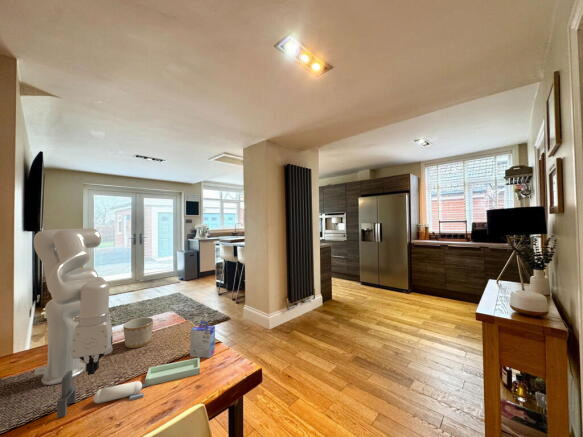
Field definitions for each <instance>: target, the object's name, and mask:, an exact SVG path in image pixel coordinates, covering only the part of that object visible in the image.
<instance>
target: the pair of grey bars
mask: <svg viewBox="0 0 583 437" xmlns="http://www.w3.org/2000/svg"><path fill="white" fill-rule="evenodd" d="M146 387H148V386H147V384H145V382H144V383H142V388H146ZM144 396H145V392H142V393H137V394H135V395H131V396H129V401H133V400H137V399H142V398H144Z"/></svg>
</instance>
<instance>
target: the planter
mask: <svg viewBox="0 0 583 437" xmlns="http://www.w3.org/2000/svg"><path fill="white" fill-rule="evenodd" d="M153 324H154V319H153V318H152V317H139V318H135V319H134V318H133V319H131V320H129V321H126V322H125V323H124V324H123V337H124V345H125V347H126V348H128V349H137V348H142V347H144V346H146V345H147V344H149V343H150V342H151V341H152V335H153V334H152V333H153Z"/></svg>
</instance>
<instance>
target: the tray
mask: <svg viewBox="0 0 583 437" xmlns="http://www.w3.org/2000/svg"><path fill="white" fill-rule="evenodd" d="M200 358H201V357H193V358H190V359H185V360H180V361H176V362H175V361H174V362H171V363H165V364H161V365H155V366H151V367H148V370H147V374H146V377H145V379H144V383H145V384H147V386H146V387H149V386H153V385H157V384H161V383H165V382H170V381H173V380H179V379H182V378H183V379H184V378H187V377H188V378H189V377H192V376H195V375H201V373H200V372H201V369H200V368H201V366H200V365H201V363H200V362H201V361H200V360H201V359H200Z"/></svg>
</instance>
